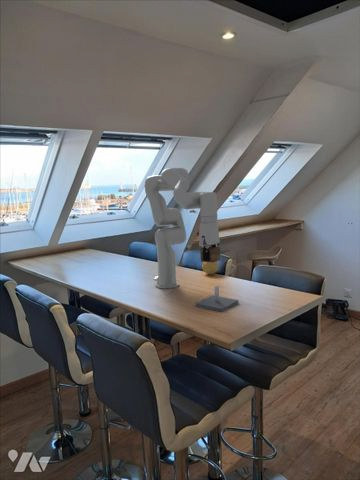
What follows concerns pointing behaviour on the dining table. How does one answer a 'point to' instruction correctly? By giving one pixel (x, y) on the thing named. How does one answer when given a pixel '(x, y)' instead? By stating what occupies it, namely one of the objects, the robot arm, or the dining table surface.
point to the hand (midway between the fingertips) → (210, 259)
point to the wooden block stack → (212, 254)
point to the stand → (216, 302)
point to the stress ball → (210, 267)
